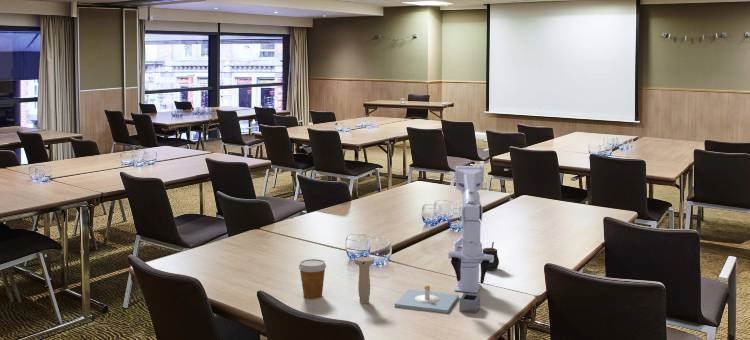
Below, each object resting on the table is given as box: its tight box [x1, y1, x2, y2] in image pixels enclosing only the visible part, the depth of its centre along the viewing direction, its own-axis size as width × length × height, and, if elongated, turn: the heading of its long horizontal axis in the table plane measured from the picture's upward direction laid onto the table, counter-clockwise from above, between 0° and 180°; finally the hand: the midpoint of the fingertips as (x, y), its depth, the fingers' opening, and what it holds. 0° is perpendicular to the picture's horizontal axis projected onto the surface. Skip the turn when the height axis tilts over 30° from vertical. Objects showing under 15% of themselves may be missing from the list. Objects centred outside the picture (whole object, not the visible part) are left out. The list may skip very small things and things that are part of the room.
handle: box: [354, 256, 375, 304], centre depth 235 cm, size 5×6×15 cm
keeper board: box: [394, 284, 460, 314], centre depth 235 cm, size 16×18×6 cm
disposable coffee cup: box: [298, 258, 327, 300], centre depth 241 cm, size 10×10×12 cm
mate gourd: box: [482, 241, 500, 272], centre depth 273 cm, size 7×8×10 cm
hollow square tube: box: [458, 293, 481, 314], centre depth 229 cm, size 6×6×4 cm
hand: (470, 281), depth 227 cm, fingers open, 7 cm apart
